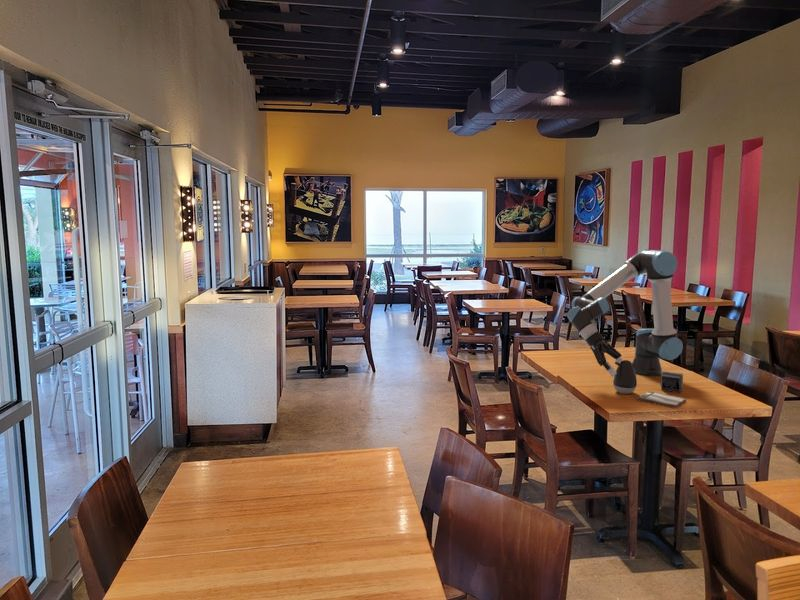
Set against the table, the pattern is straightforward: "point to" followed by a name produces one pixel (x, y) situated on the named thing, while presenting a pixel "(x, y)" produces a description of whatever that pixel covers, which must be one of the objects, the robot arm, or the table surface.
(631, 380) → the dark grey egg shape
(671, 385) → the electrical switch
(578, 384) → the table surface
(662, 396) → the chart board
